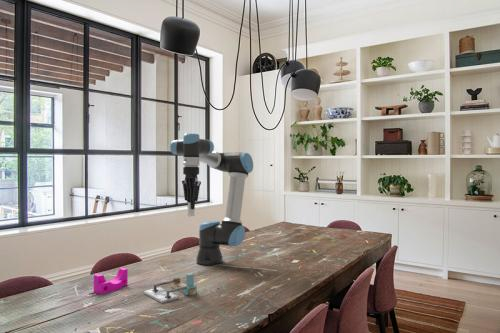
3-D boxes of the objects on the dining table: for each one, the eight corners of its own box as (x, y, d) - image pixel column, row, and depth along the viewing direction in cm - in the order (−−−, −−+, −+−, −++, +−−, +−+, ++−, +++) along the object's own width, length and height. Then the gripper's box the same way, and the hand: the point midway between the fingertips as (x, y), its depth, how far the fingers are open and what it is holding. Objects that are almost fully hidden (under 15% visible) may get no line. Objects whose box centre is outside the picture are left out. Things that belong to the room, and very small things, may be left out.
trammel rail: (176, 285, 179) (176, 276, 179) (195, 294, 167) (195, 284, 167) (150, 291, 170) (150, 281, 170) (169, 301, 158) (169, 290, 158)
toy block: (101, 294, 167) (101, 277, 167) (93, 291, 171) (93, 274, 171) (130, 285, 179) (130, 269, 179) (122, 283, 183) (122, 267, 183)
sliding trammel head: (192, 290, 170) (192, 272, 170) (196, 292, 168) (196, 273, 168) (165, 298, 161) (165, 278, 161) (168, 300, 159) (168, 280, 159)
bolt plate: (159, 289, 173) (159, 286, 173) (178, 299, 161) (178, 295, 161) (143, 293, 168) (143, 290, 168) (161, 303, 156) (161, 300, 156)
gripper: (177, 166, 183) (176, 215, 183) (192, 166, 174) (192, 218, 174) (190, 166, 188) (190, 213, 189) (205, 166, 179) (205, 216, 179)
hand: (191, 215), depth 181 cm, fingers closed
